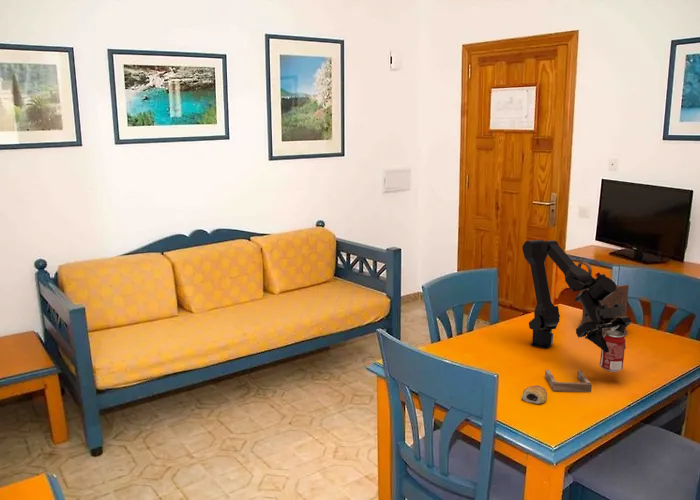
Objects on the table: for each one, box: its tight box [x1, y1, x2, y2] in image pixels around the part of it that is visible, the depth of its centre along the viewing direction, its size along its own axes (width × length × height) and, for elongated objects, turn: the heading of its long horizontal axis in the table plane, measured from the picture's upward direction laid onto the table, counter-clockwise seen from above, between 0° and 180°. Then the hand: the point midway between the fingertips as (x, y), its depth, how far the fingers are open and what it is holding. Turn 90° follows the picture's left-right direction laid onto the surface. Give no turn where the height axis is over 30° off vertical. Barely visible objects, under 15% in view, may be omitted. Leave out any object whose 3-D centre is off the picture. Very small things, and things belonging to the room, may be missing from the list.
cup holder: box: [577, 261, 630, 338], centre depth 242 cm, size 18×24×25 cm
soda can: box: [599, 330, 626, 373], centre depth 194 cm, size 7×7×12 cm
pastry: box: [520, 384, 548, 405], centre depth 184 cm, size 9×7×4 cm
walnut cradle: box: [544, 369, 593, 393], centre depth 193 cm, size 11×11×2 cm
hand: (616, 350), depth 193 cm, fingers closed on soda can, 6 cm apart
